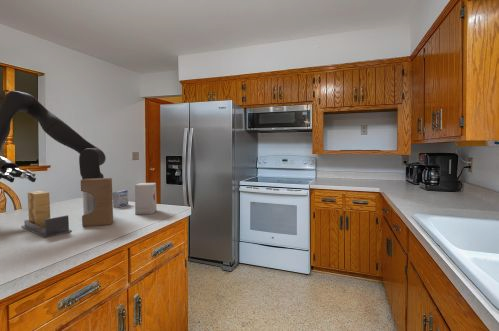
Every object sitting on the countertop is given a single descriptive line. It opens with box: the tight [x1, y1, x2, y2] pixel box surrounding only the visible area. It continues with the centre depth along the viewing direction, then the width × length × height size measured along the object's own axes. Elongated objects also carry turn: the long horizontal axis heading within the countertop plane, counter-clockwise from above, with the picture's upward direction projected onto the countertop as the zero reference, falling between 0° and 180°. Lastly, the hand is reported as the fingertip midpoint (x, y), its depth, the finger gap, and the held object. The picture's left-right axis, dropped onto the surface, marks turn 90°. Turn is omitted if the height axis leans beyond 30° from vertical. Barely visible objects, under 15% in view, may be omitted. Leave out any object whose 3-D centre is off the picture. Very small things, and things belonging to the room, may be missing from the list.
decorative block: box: [80, 177, 114, 228], centre depth 118 cm, size 11×6×20 cm, turn 104°
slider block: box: [27, 190, 51, 226], centre depth 114 cm, size 8×5×14 cm, turn 56°
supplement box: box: [134, 182, 157, 215], centre depth 141 cm, size 9×9×15 cm
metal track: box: [21, 215, 72, 239], centre depth 111 cm, size 25×9×7 cm, turn 56°
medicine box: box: [112, 189, 129, 208], centre depth 157 cm, size 8×4×9 cm, turn 168°
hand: (24, 180), depth 121 cm, fingers open, 8 cm apart
